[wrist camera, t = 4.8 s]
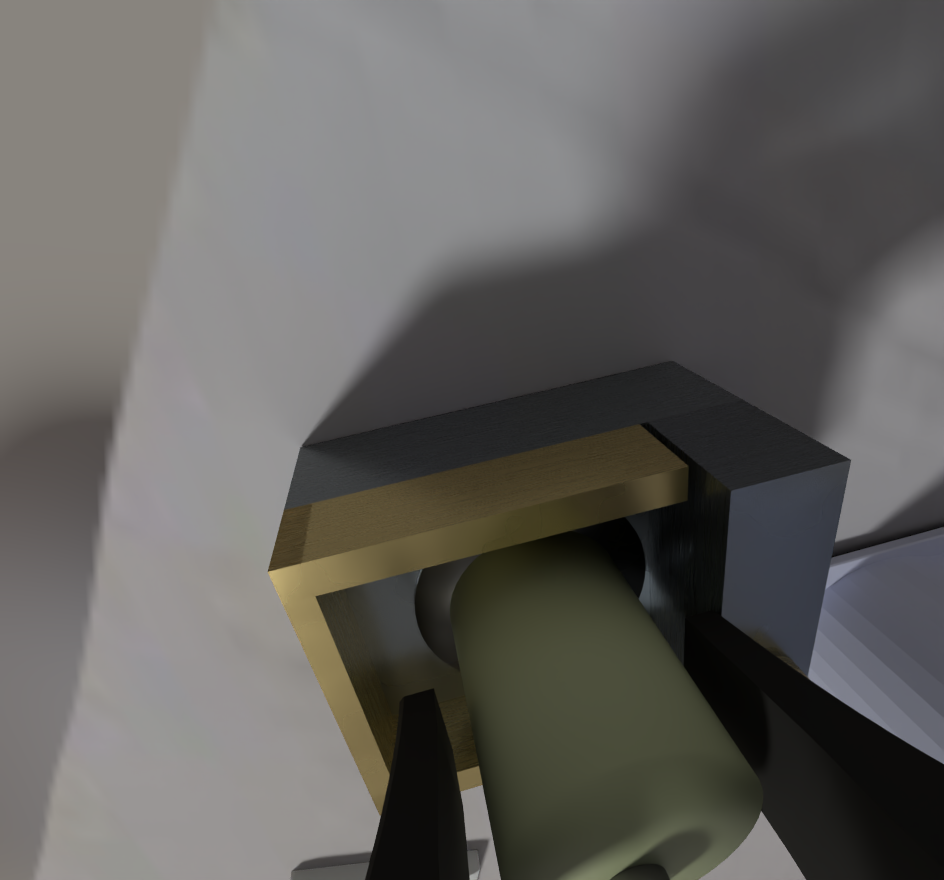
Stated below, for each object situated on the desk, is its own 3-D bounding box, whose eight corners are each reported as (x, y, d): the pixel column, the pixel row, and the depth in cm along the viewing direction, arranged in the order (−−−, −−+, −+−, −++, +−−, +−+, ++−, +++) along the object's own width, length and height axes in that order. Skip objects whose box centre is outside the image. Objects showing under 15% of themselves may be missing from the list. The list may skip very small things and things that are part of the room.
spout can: (617, 512, 12) (833, 786, 7) (616, 642, 14) (780, 938, 9) (437, 550, 12) (502, 881, 6) (461, 679, 14) (527, 1019, 8)
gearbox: (673, 361, 14) (891, 482, 8) (670, 575, 18) (821, 767, 12) (300, 447, 14) (246, 652, 8) (376, 654, 17) (381, 904, 11)
